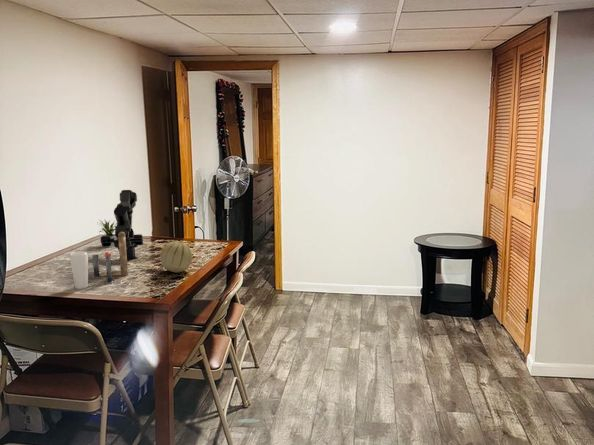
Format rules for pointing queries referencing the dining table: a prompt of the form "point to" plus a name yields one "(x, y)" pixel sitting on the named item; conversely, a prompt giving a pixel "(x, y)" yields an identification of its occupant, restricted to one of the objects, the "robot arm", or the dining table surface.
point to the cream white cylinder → (80, 269)
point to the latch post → (108, 268)
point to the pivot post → (96, 267)
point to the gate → (121, 256)
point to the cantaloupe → (176, 256)
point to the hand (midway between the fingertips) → (121, 255)
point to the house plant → (107, 231)
